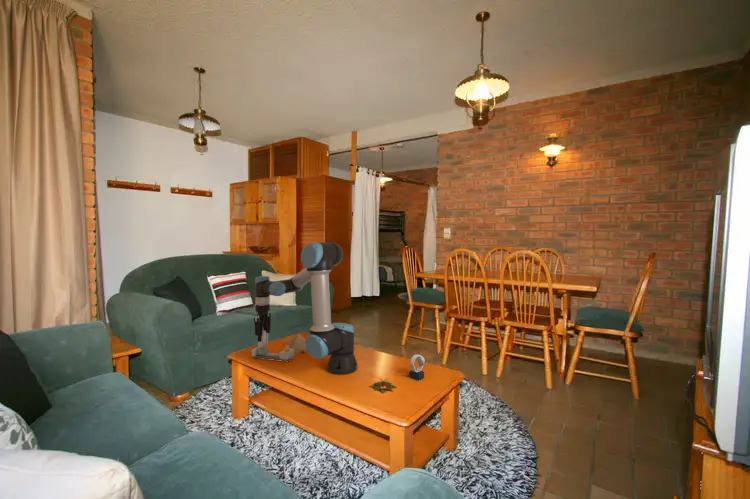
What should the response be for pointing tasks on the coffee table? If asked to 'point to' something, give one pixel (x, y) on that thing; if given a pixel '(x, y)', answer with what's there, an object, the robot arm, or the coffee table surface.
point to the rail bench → (274, 355)
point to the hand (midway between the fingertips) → (263, 345)
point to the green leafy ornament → (383, 383)
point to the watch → (417, 373)
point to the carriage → (263, 345)
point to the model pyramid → (297, 344)
